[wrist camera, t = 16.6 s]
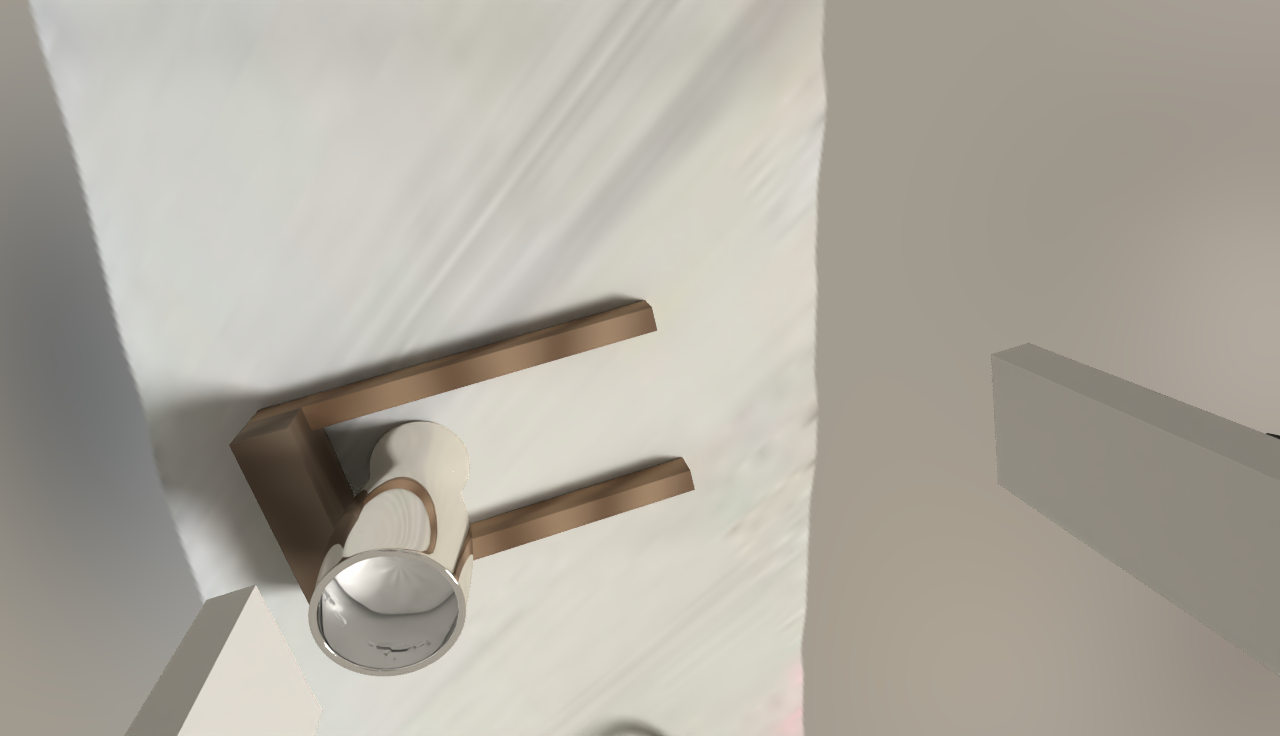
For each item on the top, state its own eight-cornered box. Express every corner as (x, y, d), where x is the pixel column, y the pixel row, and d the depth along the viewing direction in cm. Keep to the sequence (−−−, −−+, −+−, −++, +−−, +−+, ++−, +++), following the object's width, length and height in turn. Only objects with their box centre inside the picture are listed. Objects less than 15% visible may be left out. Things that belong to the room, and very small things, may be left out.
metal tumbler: (417, 532, 46) (384, 707, 32) (338, 461, 43) (265, 616, 29) (499, 468, 45) (503, 615, 31) (425, 392, 43) (393, 515, 29)
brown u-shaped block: (644, 300, 44) (663, 319, 39) (686, 476, 48) (707, 512, 44) (258, 410, 41) (229, 444, 37) (341, 585, 46) (325, 636, 41)
